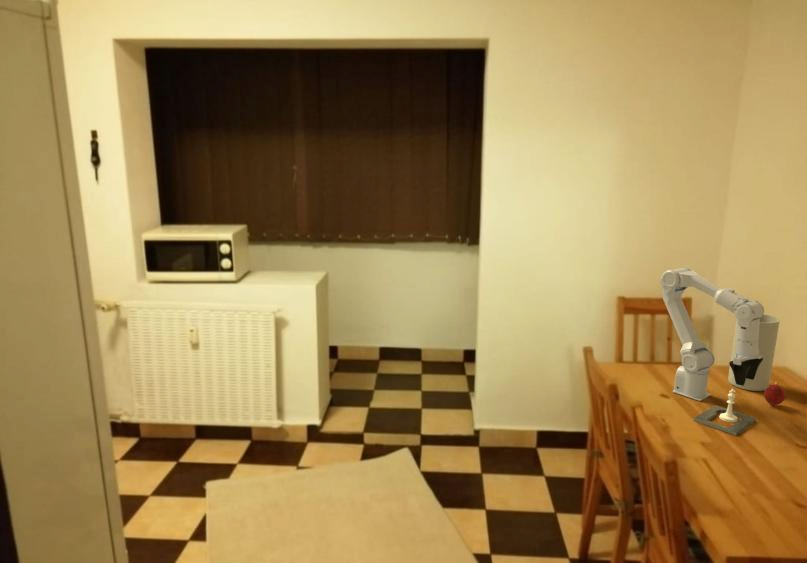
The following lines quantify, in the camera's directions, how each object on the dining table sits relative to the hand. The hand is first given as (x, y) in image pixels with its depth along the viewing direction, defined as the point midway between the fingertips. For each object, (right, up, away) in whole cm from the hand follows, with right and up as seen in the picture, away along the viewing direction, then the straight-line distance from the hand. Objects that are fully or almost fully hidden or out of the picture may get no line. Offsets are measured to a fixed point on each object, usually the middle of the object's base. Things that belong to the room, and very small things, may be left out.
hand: (744, 381), depth 176 cm
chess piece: (-6, -11, -2) cm, 13 cm away
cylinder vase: (+16, -6, +24) cm, 29 cm away
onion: (+14, -9, +8) cm, 18 cm away
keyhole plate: (-8, -12, -3) cm, 14 cm away
